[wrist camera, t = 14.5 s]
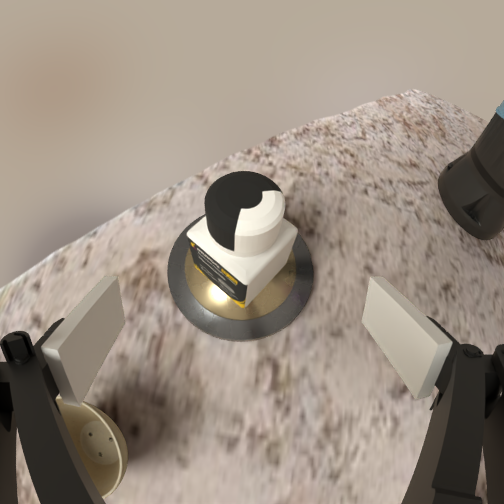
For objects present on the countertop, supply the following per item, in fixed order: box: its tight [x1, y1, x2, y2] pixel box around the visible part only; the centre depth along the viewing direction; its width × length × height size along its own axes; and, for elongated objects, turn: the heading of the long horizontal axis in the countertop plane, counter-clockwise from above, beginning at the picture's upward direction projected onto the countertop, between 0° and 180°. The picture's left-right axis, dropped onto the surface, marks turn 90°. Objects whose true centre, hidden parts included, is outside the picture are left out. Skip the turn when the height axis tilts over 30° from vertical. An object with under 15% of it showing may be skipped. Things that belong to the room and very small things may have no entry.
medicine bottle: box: [187, 171, 298, 308], centre depth 27 cm, size 7×7×12 cm
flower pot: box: [55, 396, 128, 499], centre depth 20 cm, size 10×10×7 cm
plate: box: [168, 214, 313, 342], centre depth 33 cm, size 16×16×2 cm
